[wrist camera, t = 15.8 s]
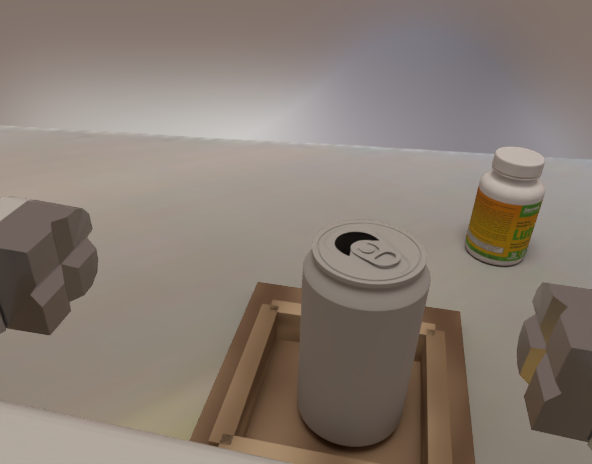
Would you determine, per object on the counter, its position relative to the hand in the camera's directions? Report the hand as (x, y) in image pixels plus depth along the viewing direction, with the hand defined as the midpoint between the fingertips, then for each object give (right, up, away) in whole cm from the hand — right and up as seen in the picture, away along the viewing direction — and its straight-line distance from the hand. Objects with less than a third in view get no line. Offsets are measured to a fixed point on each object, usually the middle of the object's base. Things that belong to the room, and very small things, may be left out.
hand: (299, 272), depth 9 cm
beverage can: (+3, -10, +23) cm, 25 cm away
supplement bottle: (+19, -1, +40) cm, 44 cm away
